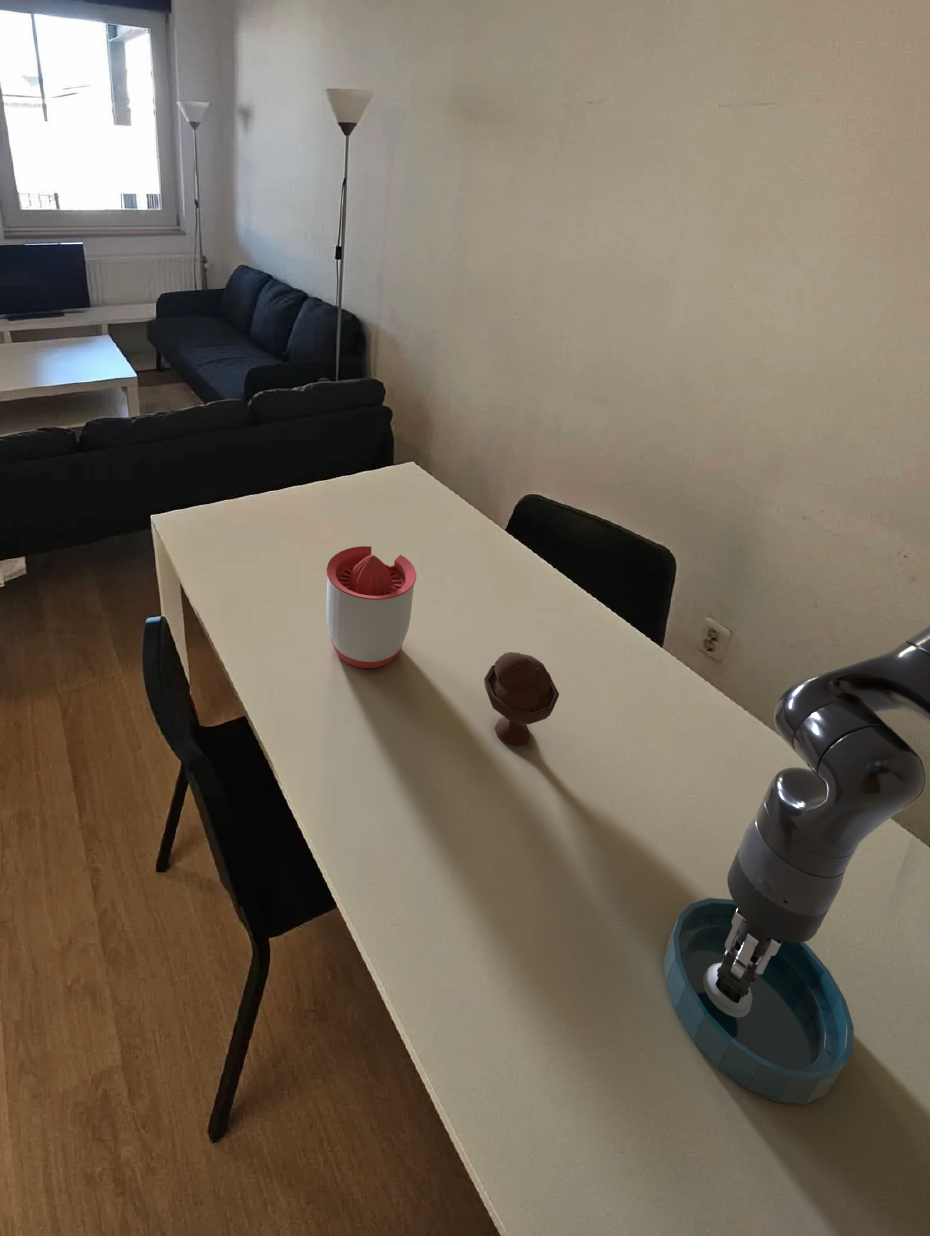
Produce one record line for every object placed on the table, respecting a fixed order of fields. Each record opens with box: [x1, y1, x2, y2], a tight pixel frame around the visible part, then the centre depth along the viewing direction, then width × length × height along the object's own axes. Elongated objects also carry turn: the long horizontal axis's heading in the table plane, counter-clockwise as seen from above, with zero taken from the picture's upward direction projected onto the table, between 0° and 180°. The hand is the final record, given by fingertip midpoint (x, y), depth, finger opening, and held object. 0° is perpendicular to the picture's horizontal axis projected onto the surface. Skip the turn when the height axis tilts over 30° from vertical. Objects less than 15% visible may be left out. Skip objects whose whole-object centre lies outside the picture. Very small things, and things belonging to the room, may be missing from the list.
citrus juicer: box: [325, 545, 417, 669], centre depth 116 cm, size 16×17×20 cm
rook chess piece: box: [703, 949, 761, 1017], centre depth 68 cm, size 4×4×8 cm
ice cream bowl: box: [483, 651, 560, 747], centre depth 100 cm, size 11×11×15 cm
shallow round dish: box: [663, 897, 855, 1105], centre depth 69 cm, size 16×16×5 cm
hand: (734, 977), depth 68 cm, fingers closed on rook chess piece, 3 cm apart
